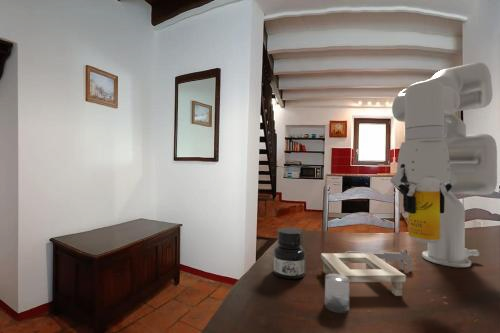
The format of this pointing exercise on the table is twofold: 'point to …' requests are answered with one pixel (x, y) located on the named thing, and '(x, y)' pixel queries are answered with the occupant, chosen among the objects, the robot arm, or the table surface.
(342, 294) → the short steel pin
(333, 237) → the table surface
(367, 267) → the birch stand
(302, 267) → the ink bottle
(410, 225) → the beer can
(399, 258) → the caliper
